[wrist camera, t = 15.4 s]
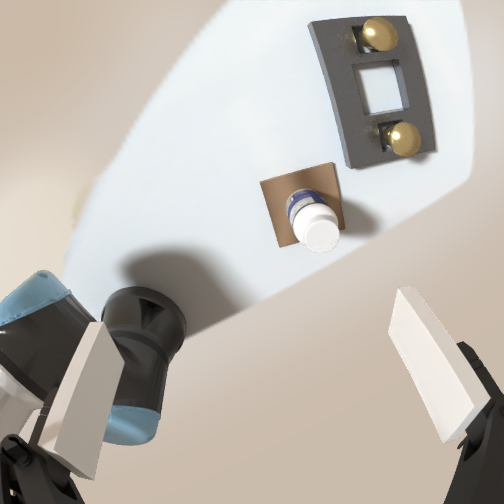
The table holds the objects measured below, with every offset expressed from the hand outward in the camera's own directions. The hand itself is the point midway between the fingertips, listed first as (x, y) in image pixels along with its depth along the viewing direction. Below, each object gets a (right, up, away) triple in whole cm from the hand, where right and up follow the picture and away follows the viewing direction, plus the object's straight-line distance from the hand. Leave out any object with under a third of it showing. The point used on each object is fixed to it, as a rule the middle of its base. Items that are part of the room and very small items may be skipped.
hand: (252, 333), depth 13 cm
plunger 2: (+19, +19, +22) cm, 34 cm away
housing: (+17, +25, +21) cm, 37 cm away
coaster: (+7, +10, +29) cm, 31 cm away
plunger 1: (+15, +30, +16) cm, 37 cm away
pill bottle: (+7, +10, +28) cm, 31 cm away
